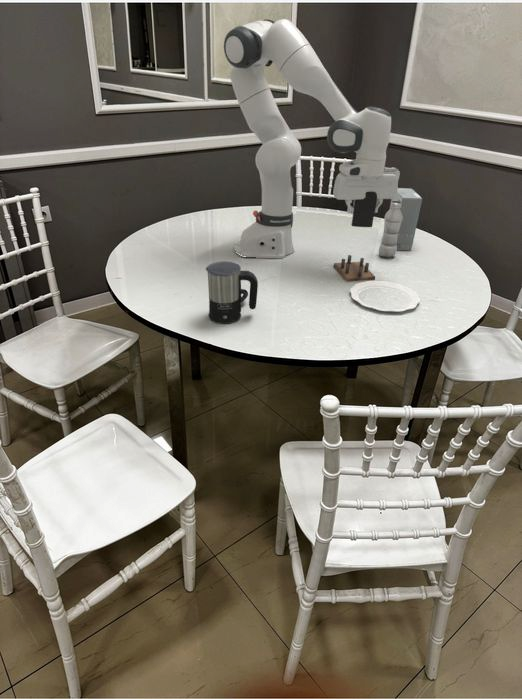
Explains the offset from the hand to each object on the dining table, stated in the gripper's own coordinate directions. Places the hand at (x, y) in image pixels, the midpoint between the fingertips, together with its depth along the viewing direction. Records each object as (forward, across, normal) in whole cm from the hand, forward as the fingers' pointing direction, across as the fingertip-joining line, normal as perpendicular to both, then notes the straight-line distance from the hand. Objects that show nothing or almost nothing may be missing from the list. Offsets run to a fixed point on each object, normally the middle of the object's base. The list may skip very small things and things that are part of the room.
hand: (362, 212), depth 150 cm
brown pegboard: (+21, 0, 0) cm, 21 cm away
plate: (+21, -2, +20) cm, 29 cm away
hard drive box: (+21, -28, -24) cm, 43 cm away
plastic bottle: (+21, -18, -12) cm, 30 cm away
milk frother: (+21, +46, +20) cm, 55 cm away
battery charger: (+4, 0, 0) cm, 4 cm away
